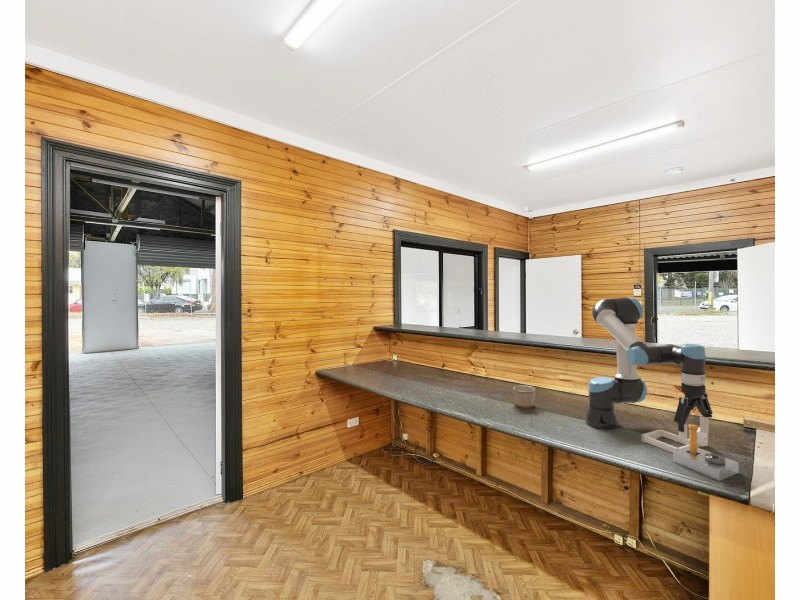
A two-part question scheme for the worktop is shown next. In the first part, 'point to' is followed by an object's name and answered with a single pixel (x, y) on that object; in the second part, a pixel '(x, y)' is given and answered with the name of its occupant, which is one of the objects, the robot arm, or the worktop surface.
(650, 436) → the tray
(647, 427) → the worktop surface
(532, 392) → the planter
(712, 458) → the block
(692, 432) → the lock pin
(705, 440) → the white wedge bracket
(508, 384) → the worktop surface
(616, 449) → the worktop surface
